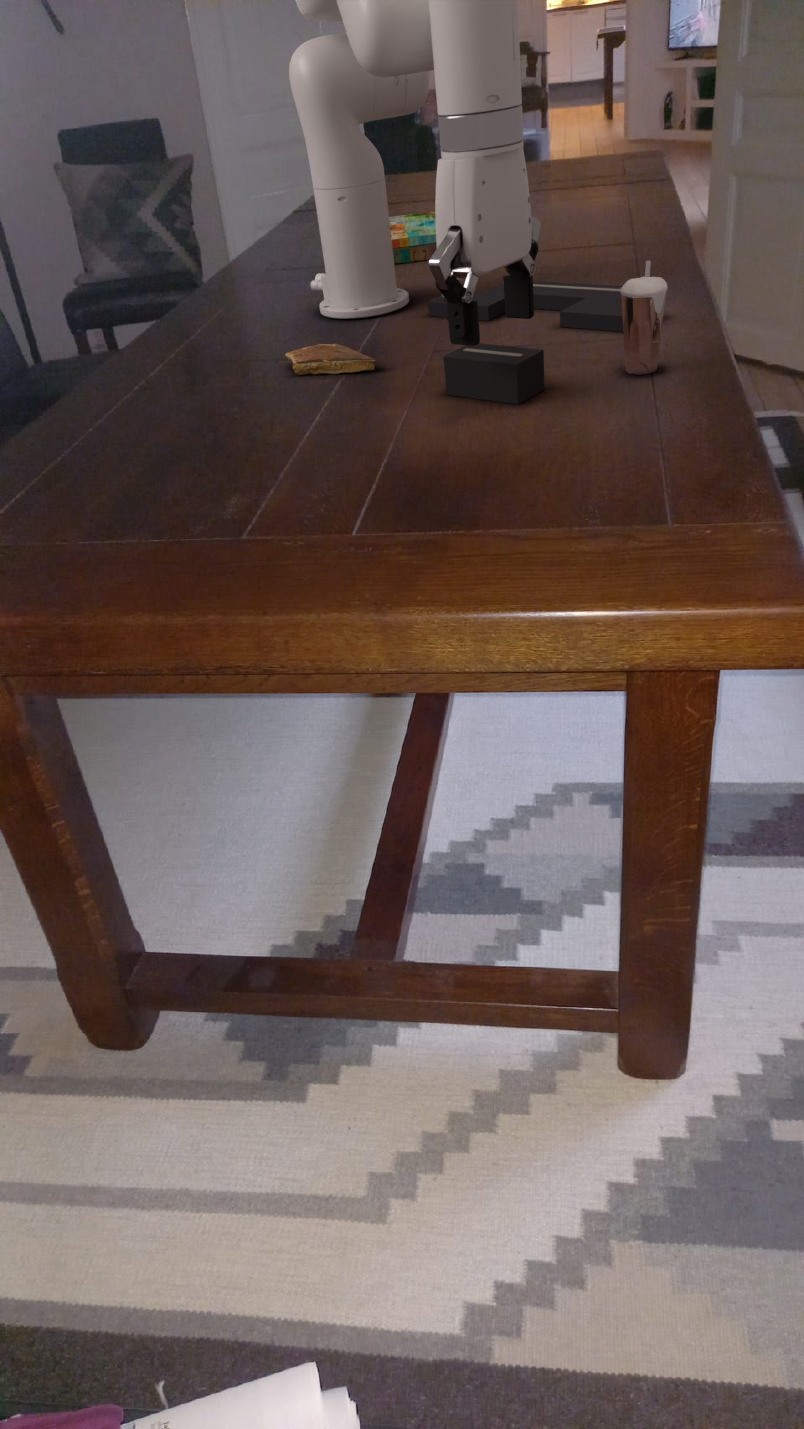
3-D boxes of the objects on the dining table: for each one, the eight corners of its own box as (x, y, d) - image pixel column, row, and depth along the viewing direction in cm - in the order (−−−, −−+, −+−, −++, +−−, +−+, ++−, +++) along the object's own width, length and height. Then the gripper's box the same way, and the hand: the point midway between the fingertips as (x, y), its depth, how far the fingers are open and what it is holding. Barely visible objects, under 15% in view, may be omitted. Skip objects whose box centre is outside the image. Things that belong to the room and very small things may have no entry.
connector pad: (446, 395, 103) (442, 355, 101) (473, 380, 106) (470, 341, 104) (518, 405, 98) (516, 363, 96) (544, 389, 101) (543, 348, 99)
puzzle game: (371, 236, 155) (370, 215, 172) (375, 267, 158) (374, 244, 174) (444, 226, 155) (437, 206, 171) (447, 258, 158) (439, 235, 174)
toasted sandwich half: (378, 372, 112) (376, 356, 111) (318, 389, 110) (316, 372, 109) (336, 354, 120) (334, 338, 119) (280, 369, 118) (277, 354, 117)
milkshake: (667, 360, 104) (671, 259, 98) (660, 377, 100) (665, 272, 94) (623, 361, 106) (625, 261, 100) (615, 377, 102) (617, 274, 96)
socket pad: (428, 316, 130) (427, 300, 129) (481, 291, 138) (480, 277, 136) (631, 333, 114) (632, 316, 113) (679, 304, 121) (680, 288, 120)
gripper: (499, 122, 96) (509, 306, 106) (389, 151, 85) (411, 352, 95) (566, 118, 92) (570, 310, 101) (459, 147, 81) (474, 358, 91)
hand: (493, 330), depth 98 cm, fingers open, 9 cm apart
